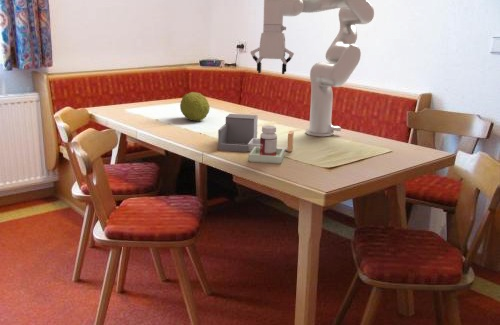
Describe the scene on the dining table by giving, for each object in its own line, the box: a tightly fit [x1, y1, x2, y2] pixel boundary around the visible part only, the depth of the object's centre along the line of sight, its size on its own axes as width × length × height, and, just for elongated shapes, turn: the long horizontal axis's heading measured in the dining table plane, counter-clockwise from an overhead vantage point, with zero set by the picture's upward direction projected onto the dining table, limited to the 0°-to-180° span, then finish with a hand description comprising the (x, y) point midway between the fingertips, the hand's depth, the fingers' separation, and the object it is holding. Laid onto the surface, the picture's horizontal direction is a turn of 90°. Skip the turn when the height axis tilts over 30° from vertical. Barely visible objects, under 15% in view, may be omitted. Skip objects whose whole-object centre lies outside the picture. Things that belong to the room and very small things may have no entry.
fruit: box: [179, 91, 211, 122], centre depth 239 cm, size 16×14×15 cm
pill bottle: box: [259, 124, 278, 156], centre depth 177 cm, size 6×6×11 cm
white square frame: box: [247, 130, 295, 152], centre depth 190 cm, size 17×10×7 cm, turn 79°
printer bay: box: [217, 113, 258, 153], centre depth 195 cm, size 12×20×11 cm, turn 169°
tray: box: [248, 147, 286, 165], centre depth 178 cm, size 12×12×3 cm
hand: (271, 73), depth 194 cm, fingers open, 9 cm apart
